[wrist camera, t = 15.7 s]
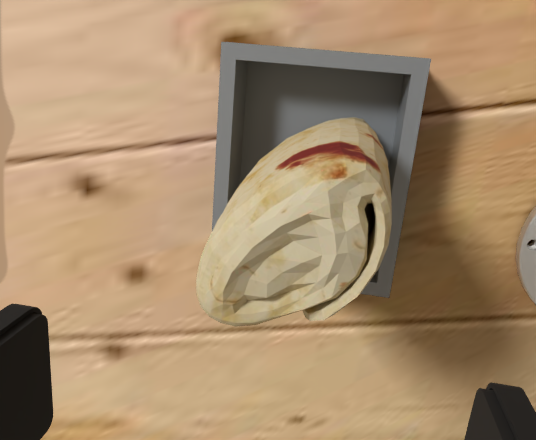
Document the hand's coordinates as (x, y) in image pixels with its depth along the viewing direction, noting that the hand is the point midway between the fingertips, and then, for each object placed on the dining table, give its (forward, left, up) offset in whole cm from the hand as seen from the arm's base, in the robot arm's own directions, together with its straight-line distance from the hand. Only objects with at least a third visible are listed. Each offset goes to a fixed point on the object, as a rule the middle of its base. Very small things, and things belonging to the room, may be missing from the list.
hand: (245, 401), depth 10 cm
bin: (0, 0, -28) cm, 28 cm away
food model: (0, 0, -28) cm, 28 cm away
